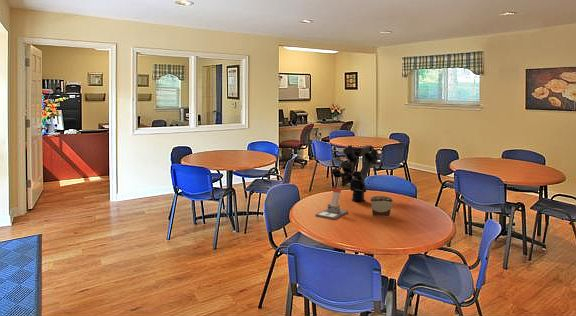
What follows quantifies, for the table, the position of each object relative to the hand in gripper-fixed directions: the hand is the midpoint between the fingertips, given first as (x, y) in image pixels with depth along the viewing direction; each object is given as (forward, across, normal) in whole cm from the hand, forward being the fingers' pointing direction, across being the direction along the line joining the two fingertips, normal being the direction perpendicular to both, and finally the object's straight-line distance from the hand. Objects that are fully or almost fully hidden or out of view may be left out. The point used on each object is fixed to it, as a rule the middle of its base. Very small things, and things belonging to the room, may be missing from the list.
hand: (342, 186), depth 245 cm
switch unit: (+19, 0, 0) cm, 19 cm away
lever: (+15, 0, -1) cm, 15 cm away
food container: (+9, +23, +11) cm, 27 cm away
